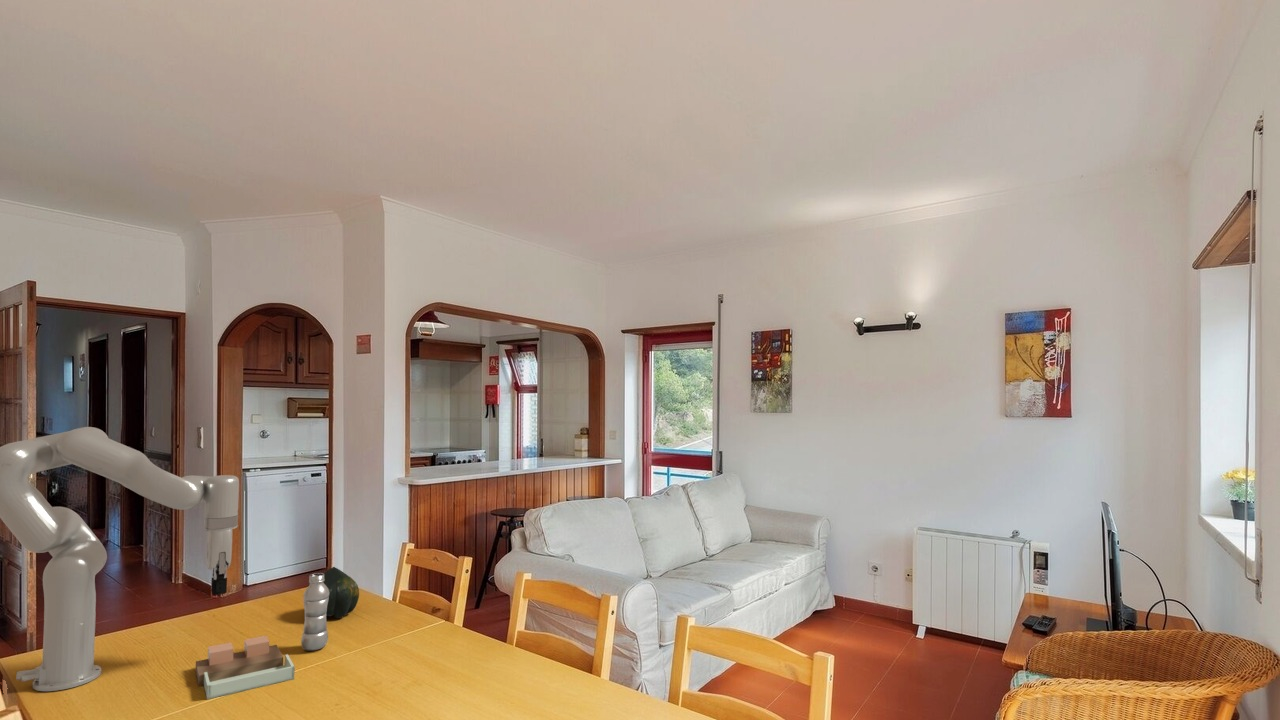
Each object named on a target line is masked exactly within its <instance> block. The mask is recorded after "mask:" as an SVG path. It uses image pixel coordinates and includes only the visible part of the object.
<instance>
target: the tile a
mask: <svg viewBox="0 0 1280 720" xmlns="http://www.w3.org/2000/svg"><path fill="white" fill-rule="evenodd" d="M233 654H234V647H233V643H232V642H227V643H221V644H217V645H211V646H207V659H208V662H209V666H211V665H215V664H220V663H225V662H230V661H233Z"/></svg>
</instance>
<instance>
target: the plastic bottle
mask: <svg viewBox="0 0 1280 720" xmlns="http://www.w3.org/2000/svg"><path fill="white" fill-rule="evenodd" d="M323 573H324V572H323ZM323 573H322V572H316V573H312V574H309V577H308V578H309V579H308V583H309V585H308V586H307V588H306V589H305V590H304V593H303V596H302V597H303V607H304V608H303V609H304V623H303V629H302V631H303V632H302V635H301V640H300V641H301V647H302V649H303V650H305V651H307V652H309V651H312V652H313V651H317V650H321V649H323V648H324V647H325V646H326V645H327V643H328V641H329V632H328V629H327V628H328V625H327V616H326V612H327V605H328V599H329V589H328V588H327V586H326V585H325V584H324V583H323V582H324V581H325V579H324V574H323Z"/></svg>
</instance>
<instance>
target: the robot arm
mask: <svg viewBox="0 0 1280 720" xmlns="http://www.w3.org/2000/svg"><path fill="white" fill-rule="evenodd" d="M69 465H74V466H76V467H80V468H82V469H83V470H87V471H89V472H91V473H94V474H97V475H99V476H102V477H104V478H106V479H109V480H112V481H113V482H116V483H118V484H121V486H123V487H125V488H127V489H129V490H130V491H132V492H134V493H136V494H138V495H139V496H141V497H143V498H146V499H148V500H150V501H152V502H155V503H157V504H160V505H163V506H165V507H168V508H171V509H174V510H184V511H185V510H189V509H191V508H193V507H194V506H196V505H197V504H198V503H203V502H204V518H203V519H204V521H203V523H204V524H203V525H204V526H203V527H204V528H203V531H205V532H207V538H206V539H207V545H206V555H205V556H206V557H205V563H206V567H207V569H208V570H209V571H212V577H211V586H210V587H211V588H210V593H211V595H212V596H217V595H218V596H219V595H225V594H226V593H227V590H228V586H227V585H228V577H227V571H228V570H227V569H228V568H230V566H231V564H232V555H233V554H232V552H233V551H232V550H233V530H234V529H237V528H238V526H239V525H238V524H239V522H238V521H239V498H240V497H239V496H240V495H239V494H240V480H239V477H238V476H236V475H232V474H224V475H220V474H219V475H215V476H209V475H207V476H205V475H193V474H192V475H185V476H182V477H180V476H178V475H176V474H173V473H171V472H170V471H167V470H164V469H162V467H159V466H158V465H156V464H154V463H153V462H152V461H150V459H149V458H148V456H147V455H146V454H144V453H143V452H142V451H140V450H137V449H135V448H133V447H131V446H127V445H125V444H123V443H120V442H119V441H116V440H113V439H111V438H109V436H108V435H107V433H106V432H104V431H103V430H102V429H100V428H98V427H92V426H82V427H77V428H75V429H71V430H69V431H64V432H63V431H62V432H59V433H55V434H49V435H44V436H37V437H35V438H29V439H23V440H18V441H14V442H9V443H6V444H4V445H3V444H2V445H1V446H0V519H1V521H2V522H3V524H4V525H5V526H6V527H7V529H9V531H10V533H12V535H13V536H14V537H15V538H16V540H17V541H18V542H19V543H20V545H21V546H22V547H23V548H24V549H25V550H27V551H29V552H31V553H35V554H36V553H37V554H40V553H41V554H42V553H47V552H48V553H49V555H50V556H51V557H52V558H51V559H50V560H49V561H48V563H47V564H46V566H45V567H44V570H43V574H42V589H43V598H44V599H43V601H44V606H43V608H44V610H43V620H44V621H43V638H42V639H43V640H42V643H43V644H42V662H41V664H40V666H36V667H34V669H26V670H20V671H17V672H16V676H15V677H16V678H15V679H16V680H15V681H21V682H29V681H32V680H33V682H32V689H33V690H35V691H38V692H55V691H63V690H67V689H72V688H76V687H78V686H82V685H85V684H88V683H90V682H93V681H94V680H95V679H97V678H98V677H99V676H101V674H102V667H101V666H100V665H98V664H94V661H95V635H96V634H95V633H96V617H97V616H96V615H97V613H96V607H97V605H96V604H97V592H96V582H95V581H96V579H95V578H96V575H97V574H99V572H100V571H101V570H103V568H104V566H105V565H106V562H107V559H108V554H107V550H106V548H105V546H104V545H103V543H102V542H101V540H100V539H99V538H98V537H97V536H96V535H95V533H94V532H93V530H92V529H91V528H90V527H89V525H87V523H86V522H85V520H84V519H83V518H82V517H81V516H80V515H79V514H78V513H77V512H75V511H74V510H72V509H71V508H68V507H65V506H52V505H51V504H50V503H49V502H48V500H47V499H46V498H45V496H44V494H42V492H41V491H40V490H38V489H37V487H35V486H34V485H33V484H32V483H31V482H30V481H29V476H30V475H34V474H37V473H39V472H43V471H47V470H51V469H56V468H60V467H65V466H69Z"/></svg>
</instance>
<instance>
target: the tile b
mask: <svg viewBox="0 0 1280 720" xmlns="http://www.w3.org/2000/svg"><path fill="white" fill-rule="evenodd" d="M243 643H244V647H243V648H244V650H243V652H245V655H246V657H247V658H248V657H253V656H258V655H263V654H267V653H269V646H270V640H269V637H268V636H267V635H262V636H256V637H252V638H247V639H244V642H243Z"/></svg>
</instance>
